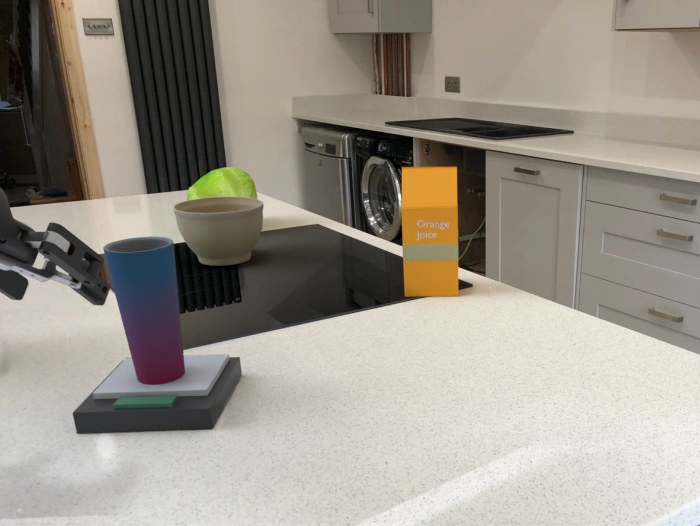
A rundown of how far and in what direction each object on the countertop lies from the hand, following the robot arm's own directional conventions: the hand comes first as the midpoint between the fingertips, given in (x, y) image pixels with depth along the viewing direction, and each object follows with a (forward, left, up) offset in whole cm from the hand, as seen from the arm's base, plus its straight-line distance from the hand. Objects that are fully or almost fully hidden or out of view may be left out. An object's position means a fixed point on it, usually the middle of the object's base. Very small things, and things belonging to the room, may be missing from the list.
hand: (62, 293), depth 67 cm
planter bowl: (-5, +73, -17) cm, 75 cm away
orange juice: (+34, +51, -17) cm, 64 cm away
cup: (+3, +11, -13) cm, 18 cm away
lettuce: (-11, +101, -17) cm, 103 cm away
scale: (+3, +11, -16) cm, 20 cm away
